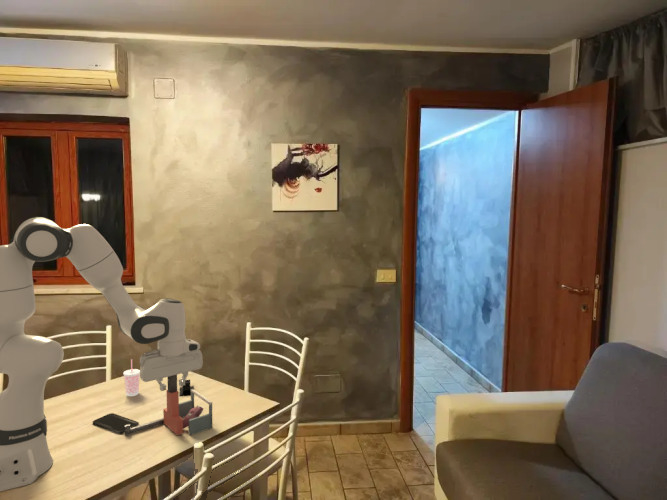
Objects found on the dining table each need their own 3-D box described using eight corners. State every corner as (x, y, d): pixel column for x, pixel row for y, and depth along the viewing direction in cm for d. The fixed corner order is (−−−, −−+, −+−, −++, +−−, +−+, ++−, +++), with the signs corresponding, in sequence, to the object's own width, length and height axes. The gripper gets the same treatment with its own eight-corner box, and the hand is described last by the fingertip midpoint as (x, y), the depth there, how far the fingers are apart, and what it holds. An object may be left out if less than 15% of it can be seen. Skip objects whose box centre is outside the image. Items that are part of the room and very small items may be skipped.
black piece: (195, 397, 180) (195, 386, 180) (176, 399, 178) (176, 388, 178) (195, 385, 192) (195, 375, 191) (177, 387, 190) (177, 376, 189)
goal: (190, 435, 150) (189, 409, 149) (171, 419, 161) (171, 394, 160) (212, 427, 156) (212, 402, 155) (193, 412, 166) (192, 388, 165)
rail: (125, 435, 149) (125, 426, 149) (124, 434, 150) (124, 425, 150) (167, 422, 159) (167, 414, 158) (166, 421, 159) (166, 413, 159)
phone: (111, 412, 163) (140, 422, 156) (111, 415, 164) (140, 425, 157) (90, 421, 156) (119, 432, 150) (90, 424, 157) (120, 436, 150)
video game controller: (185, 435, 153) (194, 418, 152) (174, 428, 154) (182, 411, 152) (199, 422, 163) (207, 406, 161) (188, 415, 163) (196, 399, 162)
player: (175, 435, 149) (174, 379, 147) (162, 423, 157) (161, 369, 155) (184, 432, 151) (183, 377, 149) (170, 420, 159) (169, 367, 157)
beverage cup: (120, 394, 181) (119, 359, 179) (135, 389, 186) (134, 355, 184) (129, 398, 177) (128, 363, 176) (143, 393, 182) (143, 359, 181)
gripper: (143, 356, 142) (144, 399, 143) (204, 343, 155) (205, 382, 157) (136, 351, 146) (137, 392, 148) (196, 339, 160) (196, 377, 161)
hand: (172, 387), depth 152 cm, fingers open, 5 cm apart
